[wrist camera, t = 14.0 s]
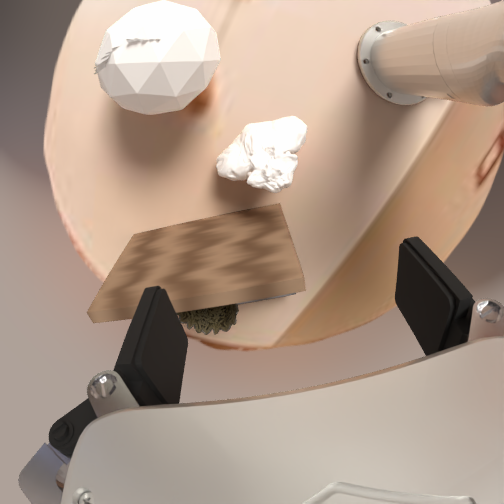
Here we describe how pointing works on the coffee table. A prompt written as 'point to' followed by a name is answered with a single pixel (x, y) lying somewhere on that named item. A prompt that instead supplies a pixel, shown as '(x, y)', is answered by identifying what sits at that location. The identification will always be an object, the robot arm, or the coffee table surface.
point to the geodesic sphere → (157, 58)
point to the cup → (210, 318)
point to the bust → (264, 154)
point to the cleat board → (204, 264)
